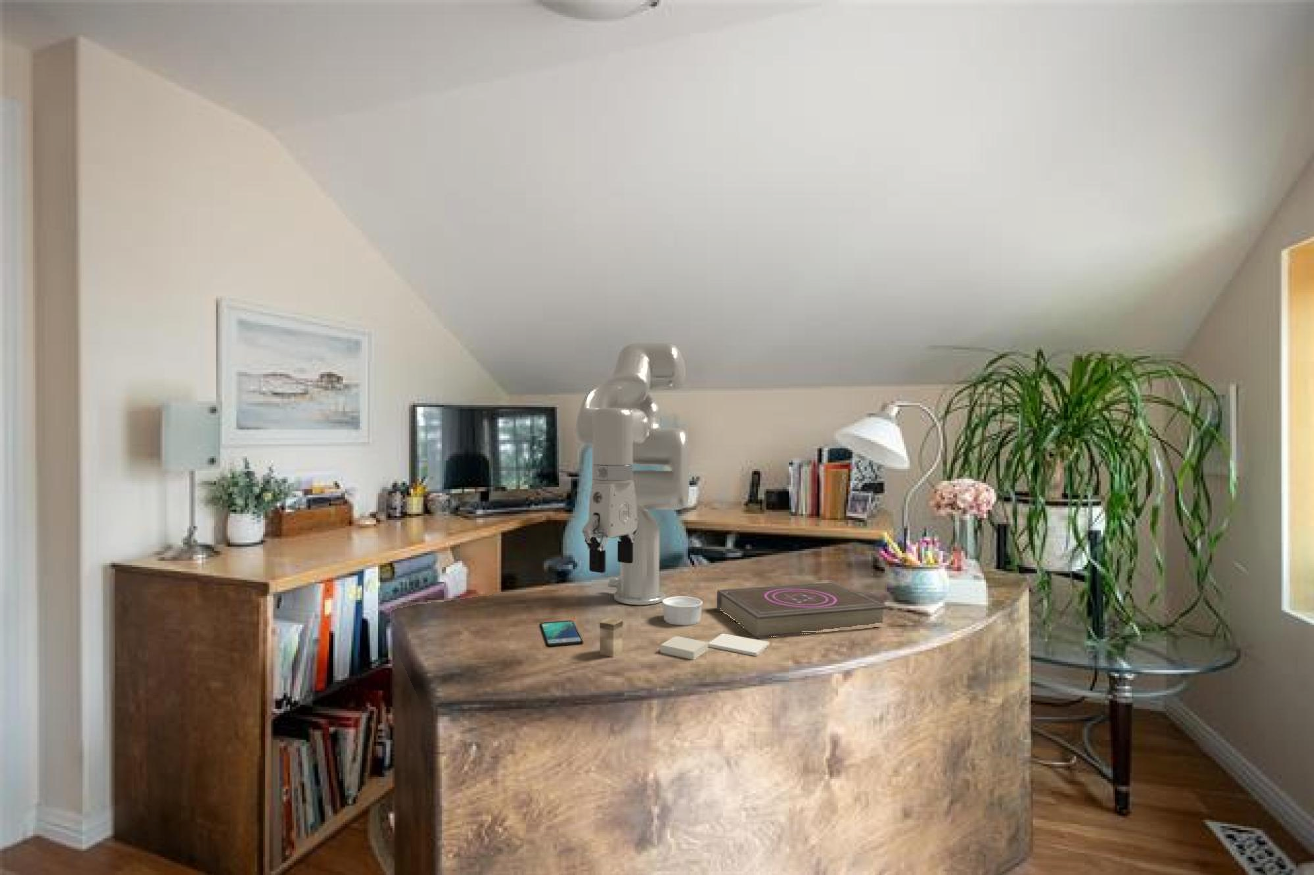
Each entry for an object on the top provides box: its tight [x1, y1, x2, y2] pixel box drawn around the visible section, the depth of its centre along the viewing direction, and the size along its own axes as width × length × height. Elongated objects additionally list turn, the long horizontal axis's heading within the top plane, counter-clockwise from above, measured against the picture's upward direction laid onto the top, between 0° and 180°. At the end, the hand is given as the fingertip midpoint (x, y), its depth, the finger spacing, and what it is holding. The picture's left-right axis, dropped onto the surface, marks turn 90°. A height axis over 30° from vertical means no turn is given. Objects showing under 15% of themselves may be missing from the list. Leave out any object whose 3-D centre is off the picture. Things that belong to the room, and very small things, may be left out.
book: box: [716, 582, 889, 639], centre depth 142 cm, size 30×22×5 cm
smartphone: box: [539, 619, 584, 648], centre depth 129 cm, size 7×1×15 cm
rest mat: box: [708, 633, 770, 657], centre depth 123 cm, size 10×7×1 cm
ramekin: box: [661, 595, 704, 626], centre depth 139 cm, size 9×9×4 cm
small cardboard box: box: [599, 617, 624, 658], centre depth 118 cm, size 3×3×6 cm
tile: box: [659, 635, 709, 661], centre depth 120 cm, size 2×6×7 cm
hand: (611, 566), depth 118 cm, fingers open, 8 cm apart
